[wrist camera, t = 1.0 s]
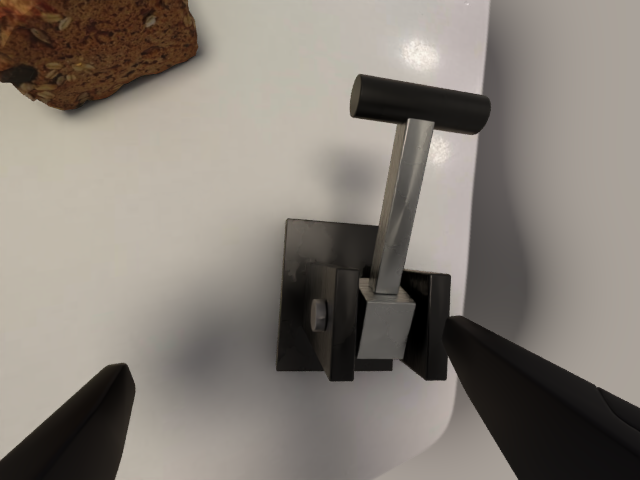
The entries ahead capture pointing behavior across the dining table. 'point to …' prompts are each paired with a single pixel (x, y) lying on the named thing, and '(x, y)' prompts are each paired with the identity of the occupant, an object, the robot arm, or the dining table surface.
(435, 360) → the bracket
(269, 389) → the dining table surface
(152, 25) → the bread
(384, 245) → the lever
